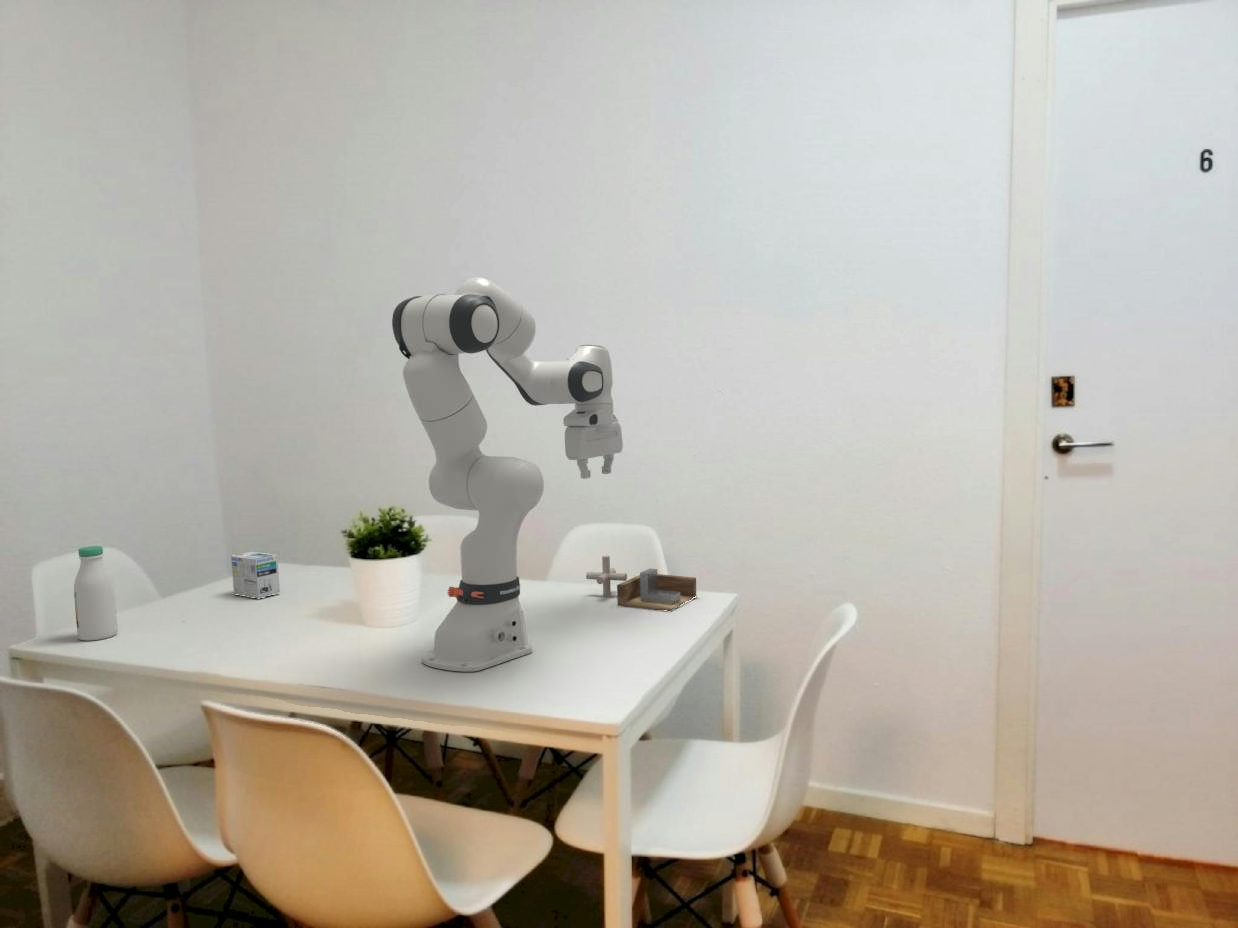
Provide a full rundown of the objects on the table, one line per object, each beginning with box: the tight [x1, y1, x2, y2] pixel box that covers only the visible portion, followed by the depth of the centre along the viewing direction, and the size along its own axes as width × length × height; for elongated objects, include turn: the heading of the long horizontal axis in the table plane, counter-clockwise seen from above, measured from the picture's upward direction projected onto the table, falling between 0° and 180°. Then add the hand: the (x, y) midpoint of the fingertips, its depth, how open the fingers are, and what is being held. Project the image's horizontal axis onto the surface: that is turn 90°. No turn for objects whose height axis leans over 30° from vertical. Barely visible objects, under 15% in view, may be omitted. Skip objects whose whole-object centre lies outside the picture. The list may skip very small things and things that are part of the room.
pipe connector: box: [585, 555, 628, 598], centre depth 223 cm, size 10×10×10 cm
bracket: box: [639, 568, 680, 605], centre depth 214 cm, size 8×5×7 cm, turn 60°
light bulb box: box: [230, 551, 281, 598], centre depth 234 cm, size 11×7×11 cm, turn 58°
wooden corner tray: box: [616, 573, 697, 612], centre depth 216 cm, size 14×14×5 cm
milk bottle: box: [73, 545, 119, 642], centre depth 199 cm, size 8×8×20 cm
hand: (596, 476), depth 209 cm, fingers open, 8 cm apart
